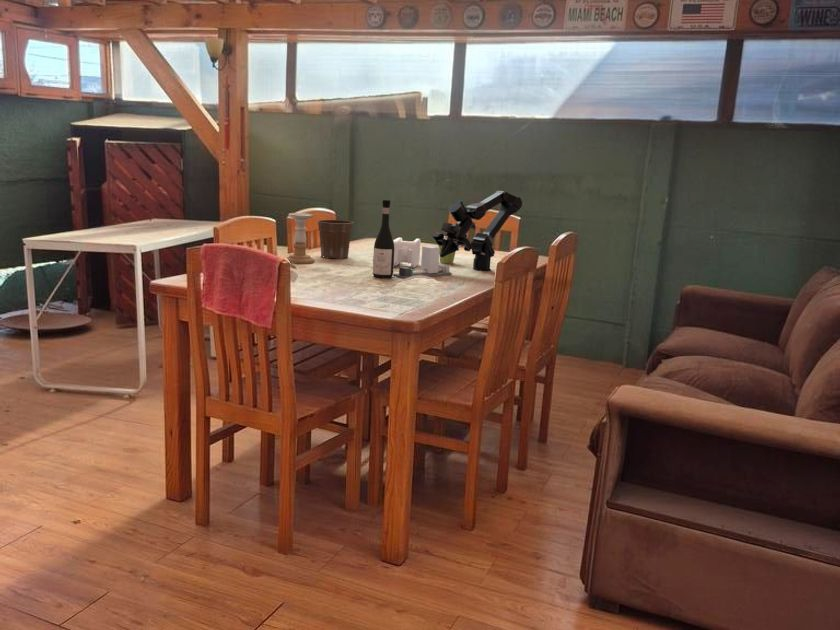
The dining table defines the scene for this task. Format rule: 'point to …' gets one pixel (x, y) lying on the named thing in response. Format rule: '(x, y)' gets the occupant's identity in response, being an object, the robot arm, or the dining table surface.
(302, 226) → the candle holder
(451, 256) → the plant pot
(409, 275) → the cord comb board
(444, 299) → the dining table surface
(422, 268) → the open-bottomed white box
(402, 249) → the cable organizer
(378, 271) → the wine bottle
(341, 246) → the plant pot
